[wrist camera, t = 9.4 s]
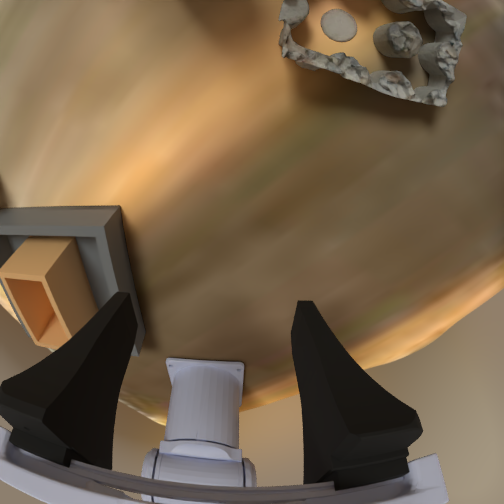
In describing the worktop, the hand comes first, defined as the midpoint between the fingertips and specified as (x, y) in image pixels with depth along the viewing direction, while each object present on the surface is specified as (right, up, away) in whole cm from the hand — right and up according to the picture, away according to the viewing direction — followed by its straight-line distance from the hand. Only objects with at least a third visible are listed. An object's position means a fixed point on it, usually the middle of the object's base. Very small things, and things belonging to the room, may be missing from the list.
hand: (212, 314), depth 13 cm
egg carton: (+9, +16, +1) cm, 18 cm away
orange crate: (-14, +1, +10) cm, 18 cm away
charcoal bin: (-14, +1, +10) cm, 18 cm away
